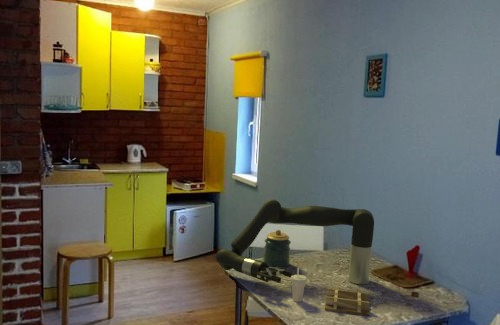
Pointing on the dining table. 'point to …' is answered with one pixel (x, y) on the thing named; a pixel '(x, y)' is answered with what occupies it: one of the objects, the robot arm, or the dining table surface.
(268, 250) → the canister
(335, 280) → the dining table surface
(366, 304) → the wooden grid tray
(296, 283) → the smoothie
